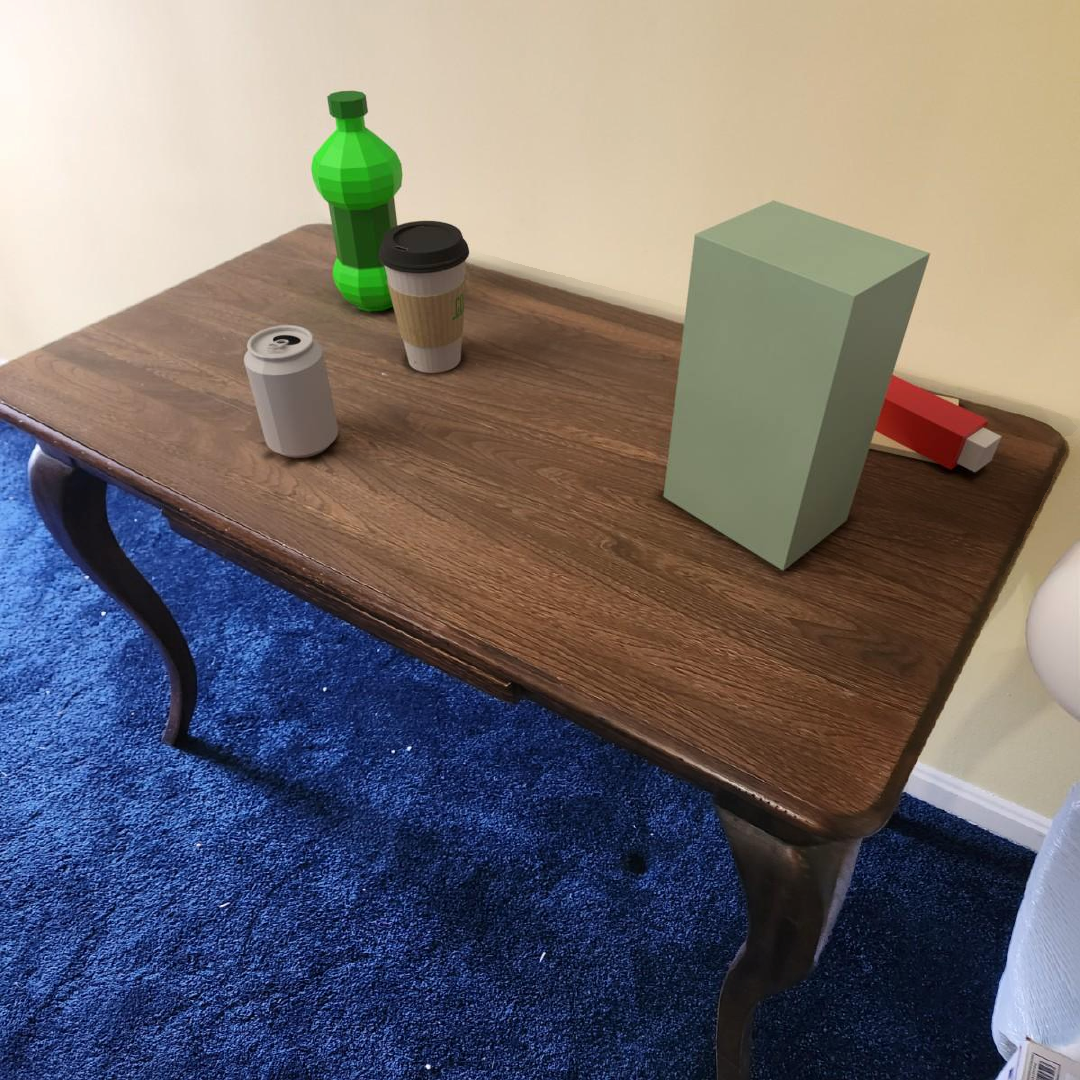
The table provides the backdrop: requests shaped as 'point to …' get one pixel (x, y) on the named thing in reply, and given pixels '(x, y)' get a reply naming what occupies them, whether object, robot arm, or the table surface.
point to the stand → (784, 373)
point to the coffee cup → (427, 290)
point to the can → (291, 391)
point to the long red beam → (935, 427)
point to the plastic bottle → (358, 200)
